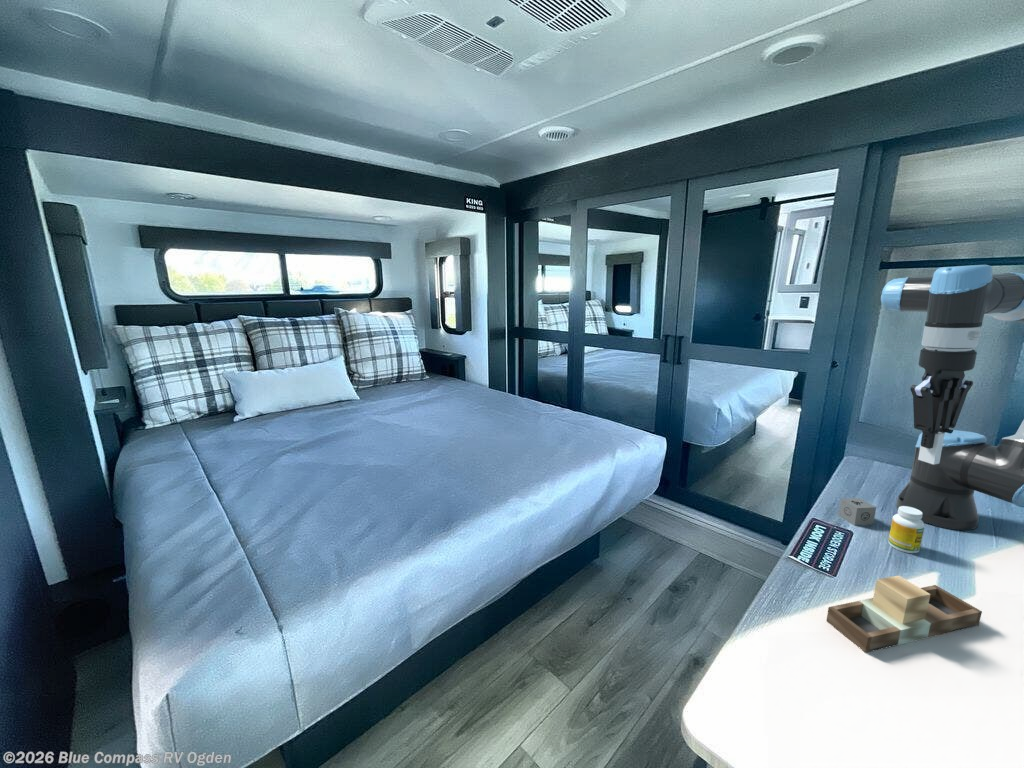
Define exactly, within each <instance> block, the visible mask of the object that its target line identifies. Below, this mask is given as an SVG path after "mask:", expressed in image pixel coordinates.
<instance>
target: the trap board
mask: <svg viewBox="0 0 1024 768" xmlns="http://www.w3.org/2000/svg"><path fill="white" fill-rule="evenodd" d="M920 588H921V589H923V590H924V591H926V592H928V593H929V594H931V595H930V599H929V604H928V608H927V613H926V618H925V619H922V620H918V621H914V622H909V623H905V624H902V623H900V622H899V621H897V620H896V619H894V618H893V617H891V616H890V615H889V614H887V613H886V612H884V611H883V610H881V609H880V608H878V607H877V606H875V605H874V604H873V603H872V602H873V597H870V598H866V599H861V600H857V601H853V602H847V603H841V604H837V605H833V606H828V607H827V616H826V622H827V623H828V624H830V625H831V627H833V628H834V629H835V630H837V631H838V632H839V633H840V634H842V635H843V636H844V637H846V638H847V639H848V640H849V641H851V642H852V643H853V644H854V645H855V644H856V645H855V646H857V647H858V648H859V647H860V648H861V649H862V650H861V649H860V648H859V649H860V650H861V651H862V652H864V653H865V652H866V653H870V652H873V650H874V651H878V650H882V649H881V648H883V649H886V647H887V648H890V647H889V646H891V647H895V646H899V645H903V644H908V643H911V642H916V641H919V640H923V639H928V638H932V637H933V638H934V637H937V636H941V635H944V634H949V633H953V632H957V631H958V632H959V631H963V630H966V629H970V628H971V629H972V628H975V627H979V625H980V621H981V618H982V614H983V611H982V610H980V609H979V608H977V607H975V606H973V605H972V604H970V603H968V602H966V601H964V600H963V599H961V598H959V597H958V596H955V595H954V594H952V593H951V592H948V591H946V590H945V589H944V588H941V587H939V586H938V585H936V584H933V585H929V586H923V587H920Z"/></svg>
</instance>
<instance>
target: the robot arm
mask: <svg viewBox="0 0 1024 768" xmlns="http://www.w3.org/2000/svg"><path fill="white" fill-rule="evenodd" d="M881 291H882V292H881V296H880V302H881V304H882V306H883V308H884V309H885V310H888V311H894V312H914V313H915V312H917V313H926V319H925V323H924V326H923V327H924V328H923V333H922V337H921V344H920V345H921V346H923V348H921V349H920V352H919V358H918V365H919V367H920V368H923V369H924V370H925V371H924V374H923V375H922V377H921V383H919V384H918V385H915V384H912V385H910V393H911V394H912V400H913V401H912V403H913V404H912V406H913V428H914V429H916V430H919V431H921V433H920V434H919V435H918V438H917V441H916V444H915V451H914V457H913V462H912V467H911V472H910V473H911V474H910V476H909V477H910V478H909V481H908V483H907V484H906V485H905V486H904V488H903V489H902V491H901V492H900V493H899V495H898V496H897V498H896V504H895V506H896V508H897V509H898V508H899V507H900V506H908V507H912V508H915V509H918V510H920V511H921V512H922V513H923V514H922V519H921V520H922V521H923V523H924V524H928V523H929V524H928V525H931V524H932V526H935V527H939V528H945V529H949V530H959V531H960V530H961V531H970V530H974V529H976V528H977V527H978V524H979V520H980V519H979V518H980V517H979V513H978V509H977V505H976V500H975V495H974V494H975V492H978V493H981V494H984V495H988V496H990V497H993V498H996V499H999V500H1000V501H1001V500H1002V501H1005V502H1007V503H1010V504H1013V505H1015V506H1017V507H1020V508H1024V419H1023V420H1022V421H1021V423H1020V425H1019V427H1018V429H1017V431H1016V432H1015V434H1012V435H1009V436H1005V437H1002V438H1001V439H1000V441H999V443H998V445H994V444H988V440H987V437H986V436H985V435H983V434H981V433H977V432H973V431H967V430H958V429H957V430H956V429H954V428H956V425H957V423H958V420H959V417H960V415H961V412H962V410H963V407H964V405H965V401H966V398H967V396H968V393H969V391H970V390H971V388H972V387H973V386H974V382H973V380H966V378H965V375H966V374H965V372H967V371H968V372H969V371H971V370H973V369H975V364H976V360H977V354H978V353H977V351H976V350H975V348H978V346H979V342H980V338H981V337H982V334H983V333H982V332H981V331H982V327H983V321H984V316H987V317H988V316H990V317H993V318H994V319H995V320H1000V321H1004V322H1013V323H1015V322H1016V323H1019V324H1020V323H1021V324H1024V273H1021V272H1011V271H1010V272H1000V273H993V267H992V266H991V265H990V264H989V265H988V264H974V265H971V264H970V265H957V266H943V267H939V268H937V269H936V270H935V271H934V272H933V275H932V276H922V277H921V276H919V277H918V276H916V277H911V276H906V277H899V278H893V279H892V280H889V281H888V282H887V283H886V284H885V285H884V286H883V289H882V290H881Z"/></svg>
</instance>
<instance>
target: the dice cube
mask: <svg viewBox="0 0 1024 768" xmlns="http://www.w3.org/2000/svg"><path fill="white" fill-rule="evenodd" d="M876 511H877V506H875V505H873V504H871V503H870V502H868V501H867V500H866V501H865V500H864V499H863V498H860V497H849V498H840V503H839V510H838V516H839V517H840V518H842V519H843V520H845V521H847V522H848V523H850V524H851V525H852V526H856V527H857V526H873V525H874V522H875V517H876Z"/></svg>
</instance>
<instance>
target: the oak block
mask: <svg viewBox="0 0 1024 768" xmlns="http://www.w3.org/2000/svg"><path fill="white" fill-rule="evenodd" d="M921 588H922V587H919V586H918V585H915V584H914V583H912V582H911V581H909V580H907V579H905V578H904V577H902V576H901V575H894V576H888V577H883V578H878V579H876V581H875V586H874V590H873V591H874V593H873V597H872V598H873V602H872V603H873V604H874V605H875V606H877V607H878V608H880V609H881V610H883V611H884V612H886V613H887V614H889V615H890V616H891V617H893V618H894V619H896V620H897V621H899V622H900V623H902V624H905V623H909V622H914V621H918V620H922V619H925V618H926V613H927V608H928V604H929V599H930V595H931V594H929V593H928V592H926V591H924V590H923V589H921Z"/></svg>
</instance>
